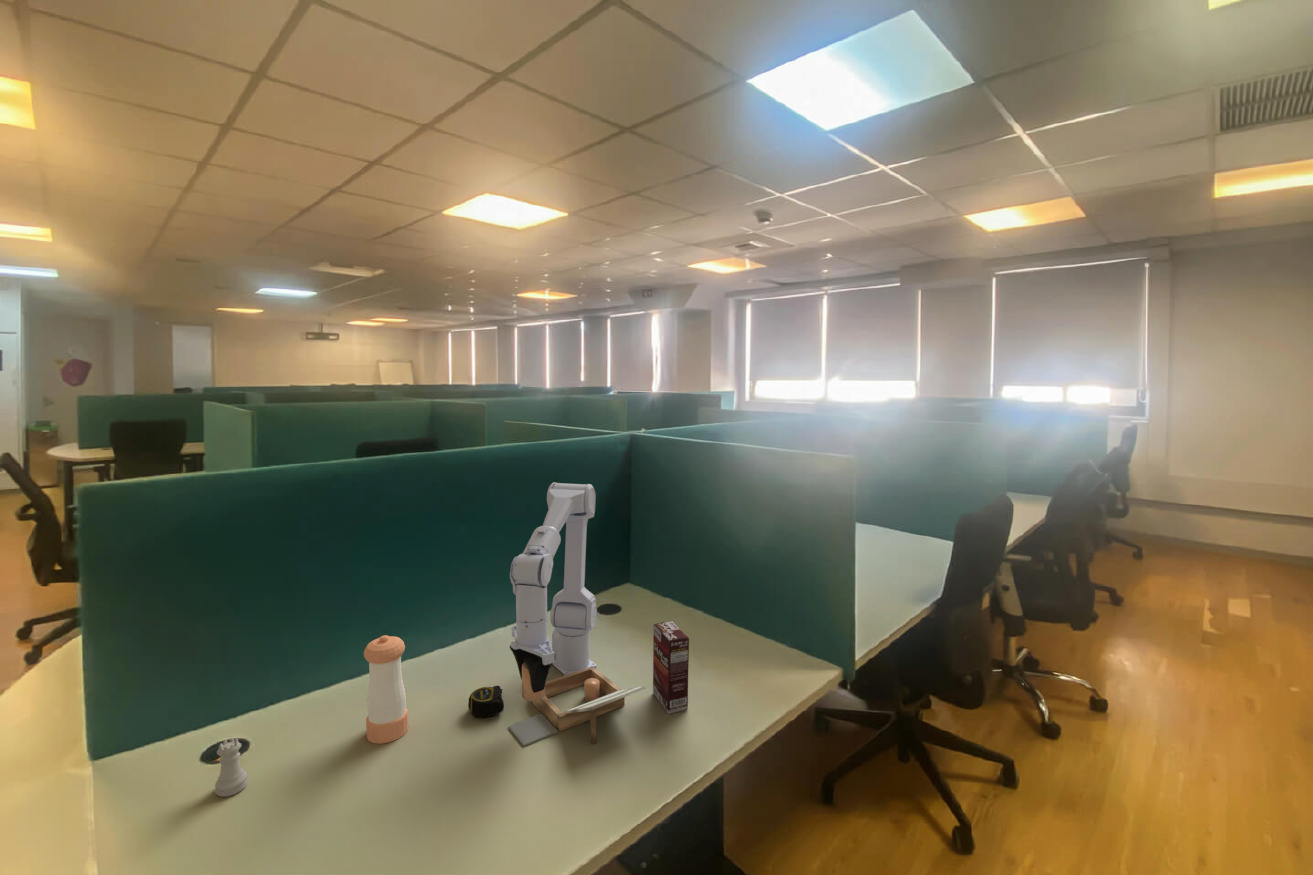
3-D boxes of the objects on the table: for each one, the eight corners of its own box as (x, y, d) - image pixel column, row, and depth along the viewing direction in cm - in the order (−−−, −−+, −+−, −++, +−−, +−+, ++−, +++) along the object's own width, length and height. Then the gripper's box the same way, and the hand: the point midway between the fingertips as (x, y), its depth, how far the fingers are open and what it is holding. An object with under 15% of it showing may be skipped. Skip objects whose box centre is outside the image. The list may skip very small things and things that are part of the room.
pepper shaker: (416, 723, 111) (413, 630, 109) (390, 747, 104) (386, 647, 102) (385, 717, 113) (382, 625, 111) (357, 739, 106) (353, 642, 104)
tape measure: (504, 717, 114) (504, 700, 114) (468, 723, 112) (468, 705, 112) (502, 699, 121) (502, 682, 120) (468, 704, 119) (468, 687, 118)
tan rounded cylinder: (581, 696, 122) (581, 681, 121) (594, 691, 124) (594, 676, 123) (589, 703, 119) (589, 687, 119) (602, 698, 121) (602, 683, 121)
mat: (508, 727, 111) (508, 725, 111) (541, 715, 115) (541, 713, 115) (523, 746, 105) (523, 744, 105) (557, 732, 109) (557, 730, 109)
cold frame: (530, 700, 120) (530, 660, 119) (592, 678, 129) (592, 640, 128) (584, 757, 102) (584, 710, 101) (651, 727, 111) (651, 683, 110)
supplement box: (651, 693, 123) (652, 623, 122) (671, 688, 125) (673, 619, 124) (667, 715, 115) (668, 640, 114) (688, 710, 117) (690, 636, 116)
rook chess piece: (244, 775, 97) (240, 731, 96) (252, 787, 94) (249, 742, 93) (211, 789, 93) (208, 744, 92) (219, 802, 91) (215, 755, 90)
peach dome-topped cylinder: (517, 693, 110) (517, 662, 109) (538, 686, 112) (538, 656, 112) (528, 703, 106) (528, 672, 106) (549, 695, 109) (549, 664, 108)
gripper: (496, 608, 111) (497, 674, 112) (528, 636, 99) (529, 709, 101) (530, 600, 115) (530, 664, 117) (564, 626, 104) (564, 696, 105)
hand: (532, 684), depth 109 cm, fingers closed on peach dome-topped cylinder, 4 cm apart
